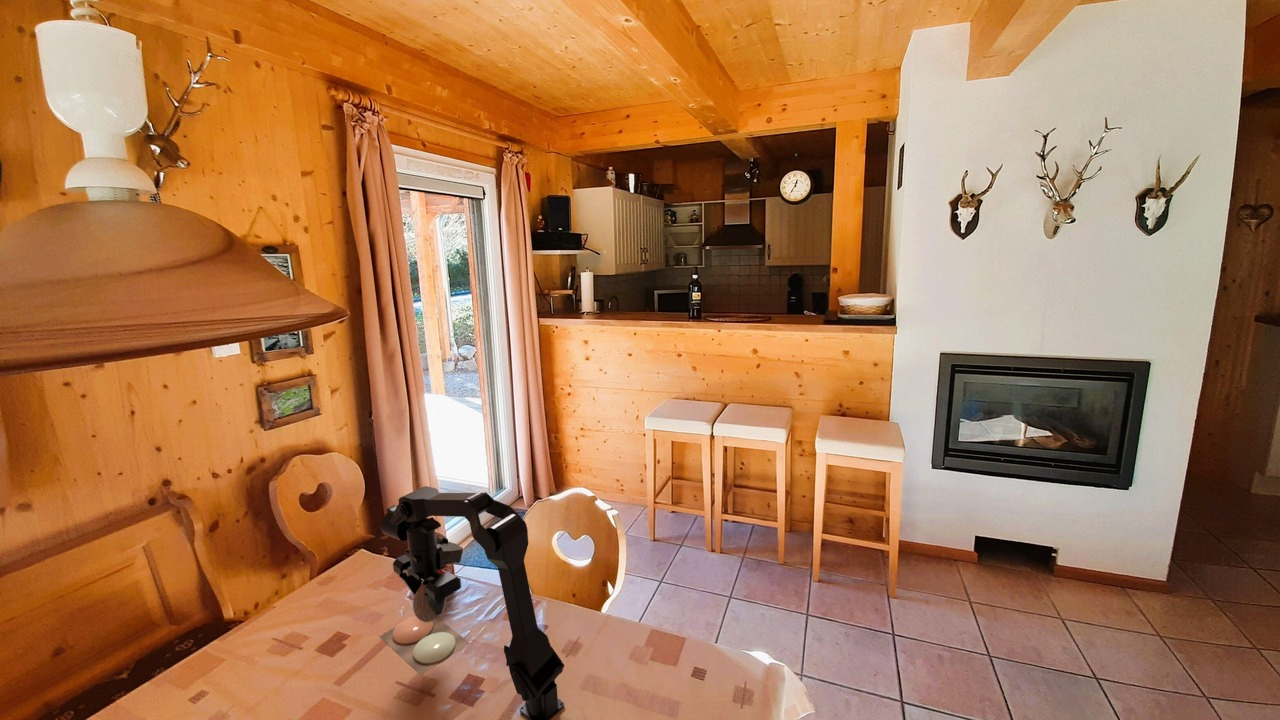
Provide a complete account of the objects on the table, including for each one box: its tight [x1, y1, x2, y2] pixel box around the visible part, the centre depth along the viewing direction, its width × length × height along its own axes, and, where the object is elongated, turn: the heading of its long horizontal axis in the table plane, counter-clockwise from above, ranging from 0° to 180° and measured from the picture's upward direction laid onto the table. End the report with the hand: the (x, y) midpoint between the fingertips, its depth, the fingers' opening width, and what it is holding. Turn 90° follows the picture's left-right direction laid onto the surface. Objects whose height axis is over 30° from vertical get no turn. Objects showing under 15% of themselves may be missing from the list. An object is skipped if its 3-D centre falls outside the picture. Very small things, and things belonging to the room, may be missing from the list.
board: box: [378, 614, 470, 676], centre depth 122 cm, size 19×12×1 cm, turn 51°
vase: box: [412, 579, 447, 622], centre depth 117 cm, size 7×7×9 cm
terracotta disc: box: [393, 615, 433, 644], centre depth 125 cm, size 9×9×1 cm
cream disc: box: [413, 632, 456, 664], centre depth 119 cm, size 9×9×1 cm
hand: (430, 607), depth 117 cm, fingers closed on vase, 7 cm apart
